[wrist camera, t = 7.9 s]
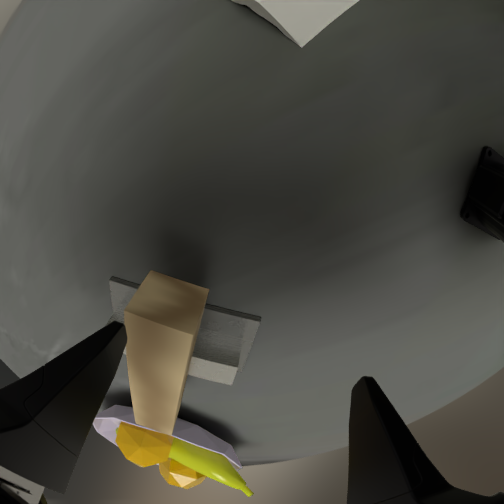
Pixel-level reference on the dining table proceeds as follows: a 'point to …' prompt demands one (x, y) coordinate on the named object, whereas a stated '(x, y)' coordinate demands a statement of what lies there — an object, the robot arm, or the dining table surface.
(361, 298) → the dining table surface
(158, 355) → the oak batten
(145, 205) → the dining table surface
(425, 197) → the dining table surface
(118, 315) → the fulcrum stand
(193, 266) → the dining table surface
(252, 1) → the crown molding
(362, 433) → the robot arm
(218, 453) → the fruit bowl
